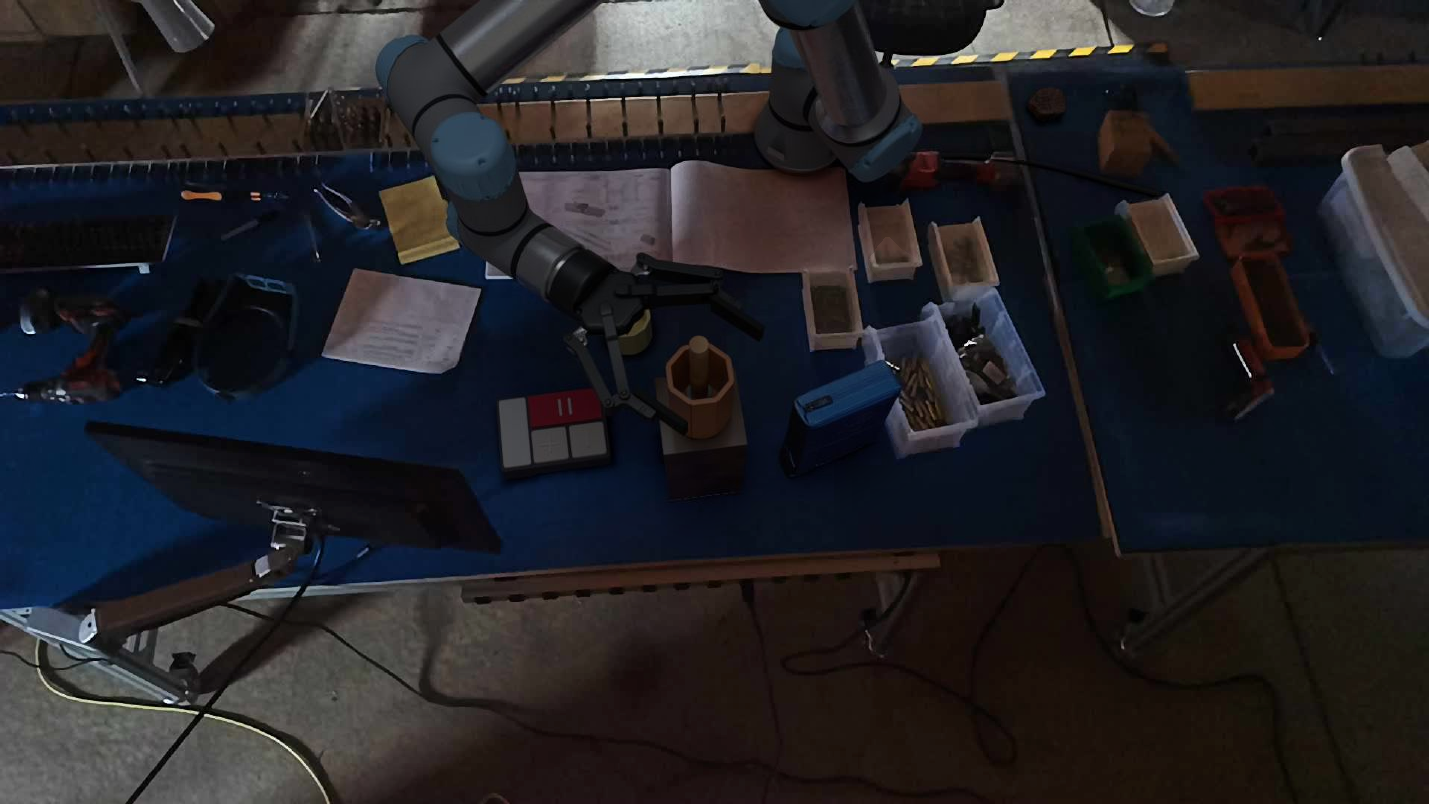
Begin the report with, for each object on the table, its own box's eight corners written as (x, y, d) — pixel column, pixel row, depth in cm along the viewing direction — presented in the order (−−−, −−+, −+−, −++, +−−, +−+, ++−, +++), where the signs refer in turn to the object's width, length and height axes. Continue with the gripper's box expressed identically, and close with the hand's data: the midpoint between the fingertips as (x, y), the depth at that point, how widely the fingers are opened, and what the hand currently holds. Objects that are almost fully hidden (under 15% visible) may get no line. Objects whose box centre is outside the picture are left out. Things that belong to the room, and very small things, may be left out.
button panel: (610, 455, 116) (499, 470, 114) (612, 465, 120) (505, 480, 118) (601, 383, 120) (494, 396, 118) (603, 395, 124) (499, 408, 122)
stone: (1027, 126, 144) (1034, 113, 141) (1019, 93, 147) (1026, 80, 144) (1065, 125, 144) (1073, 112, 141) (1056, 93, 147) (1064, 79, 144)
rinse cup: (649, 311, 129) (647, 291, 124) (654, 352, 126) (652, 333, 121) (603, 316, 129) (599, 296, 123) (607, 357, 126) (603, 339, 120)
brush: (710, 396, 101) (711, 329, 86) (713, 419, 100) (715, 355, 84) (685, 399, 101) (682, 332, 85) (688, 422, 100) (685, 359, 84)
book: (789, 485, 119) (805, 434, 100) (772, 452, 120) (784, 396, 102) (878, 444, 121) (909, 387, 103) (860, 413, 123) (887, 352, 105)
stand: (730, 427, 122) (735, 368, 103) (740, 493, 118) (747, 444, 100) (661, 436, 121) (654, 378, 103) (669, 503, 117) (663, 455, 99)
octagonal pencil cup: (725, 379, 103) (728, 339, 93) (734, 434, 100) (737, 399, 90) (666, 387, 102) (663, 347, 93) (673, 442, 100) (670, 407, 90)
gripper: (640, 220, 101) (788, 313, 96) (500, 373, 93) (653, 483, 88) (636, 180, 94) (794, 278, 89) (484, 342, 86) (649, 459, 81)
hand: (725, 380), depth 89 cm, fingers open, 13 cm apart
